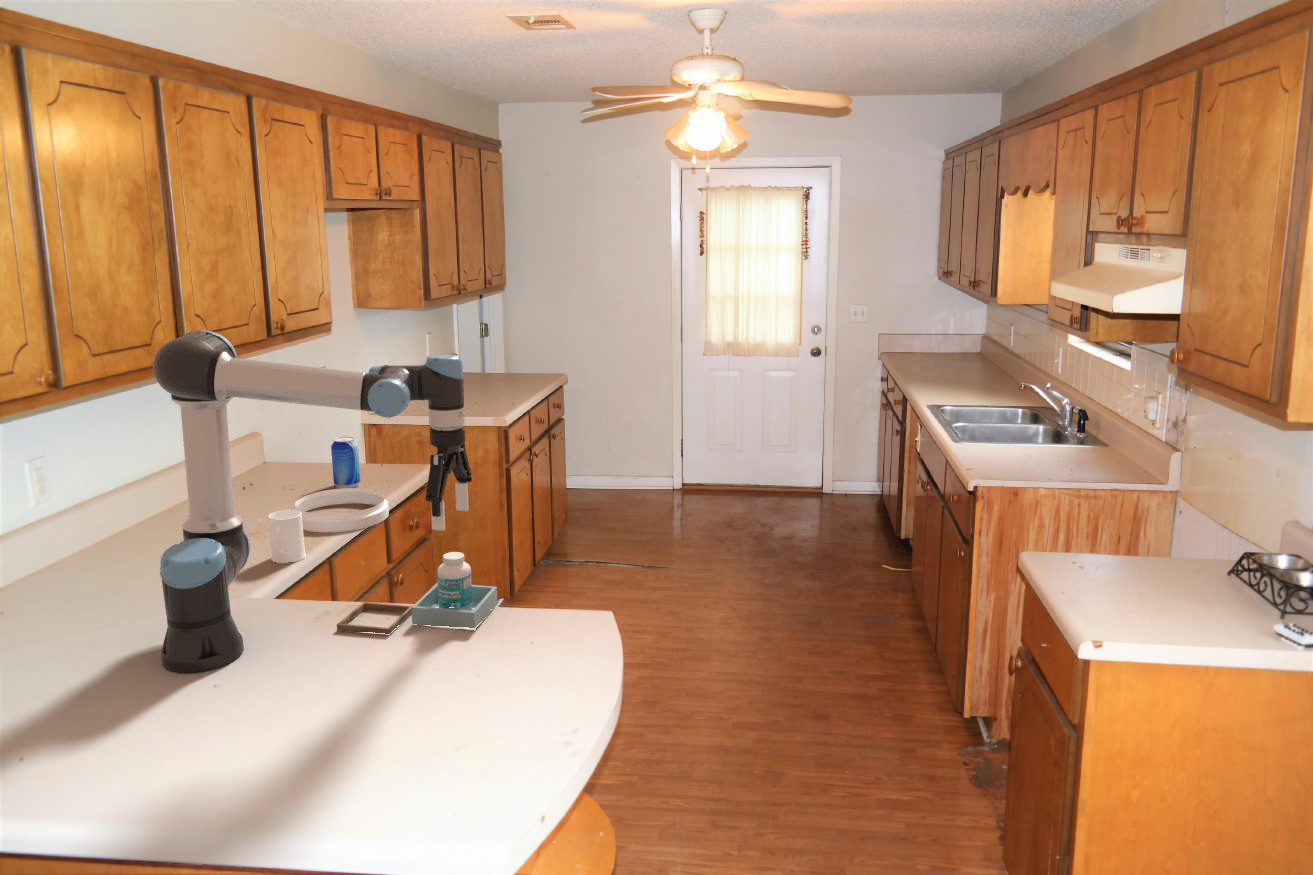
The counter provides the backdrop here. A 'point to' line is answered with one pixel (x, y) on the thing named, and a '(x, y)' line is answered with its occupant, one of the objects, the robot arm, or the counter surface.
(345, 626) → the frame
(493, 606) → the bin
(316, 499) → the white hollow ring
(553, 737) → the counter surface
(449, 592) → the pill bottle
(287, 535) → the mug
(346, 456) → the beer can
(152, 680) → the counter surface
